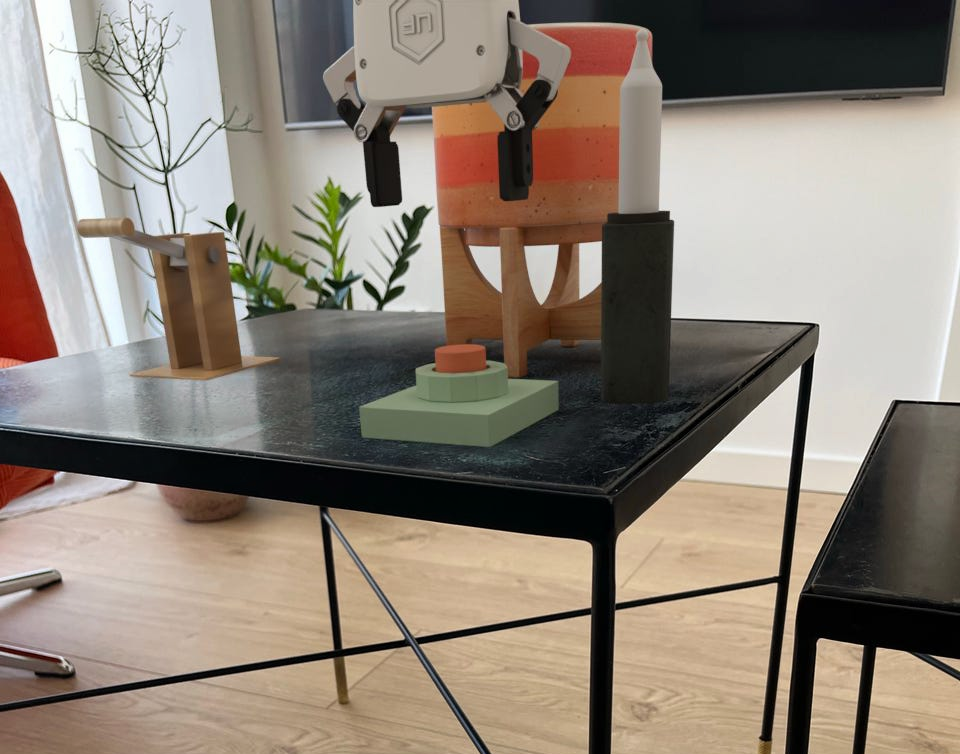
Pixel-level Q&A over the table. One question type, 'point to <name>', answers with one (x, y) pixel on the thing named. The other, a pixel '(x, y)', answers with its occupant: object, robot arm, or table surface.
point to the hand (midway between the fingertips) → (449, 203)
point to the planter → (533, 198)
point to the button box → (460, 407)
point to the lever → (134, 238)
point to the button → (460, 358)
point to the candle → (637, 250)
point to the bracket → (199, 312)
